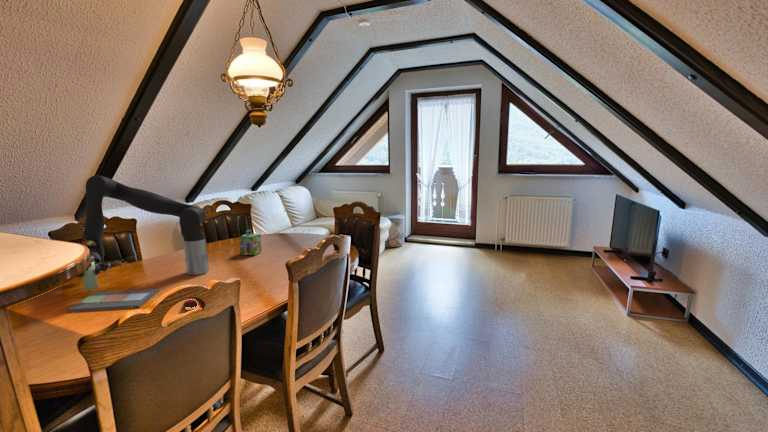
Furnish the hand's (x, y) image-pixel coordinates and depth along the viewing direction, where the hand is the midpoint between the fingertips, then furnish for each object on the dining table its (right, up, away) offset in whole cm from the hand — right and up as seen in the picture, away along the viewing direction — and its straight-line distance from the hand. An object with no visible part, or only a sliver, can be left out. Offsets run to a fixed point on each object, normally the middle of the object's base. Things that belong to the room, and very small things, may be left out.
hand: (89, 273), depth 130 cm
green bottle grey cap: (-2, -6, +3) cm, 8 cm away
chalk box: (+34, -1, +72) cm, 80 cm away
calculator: (+43, -13, +6) cm, 46 cm away
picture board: (+6, -12, +6) cm, 15 cm away
